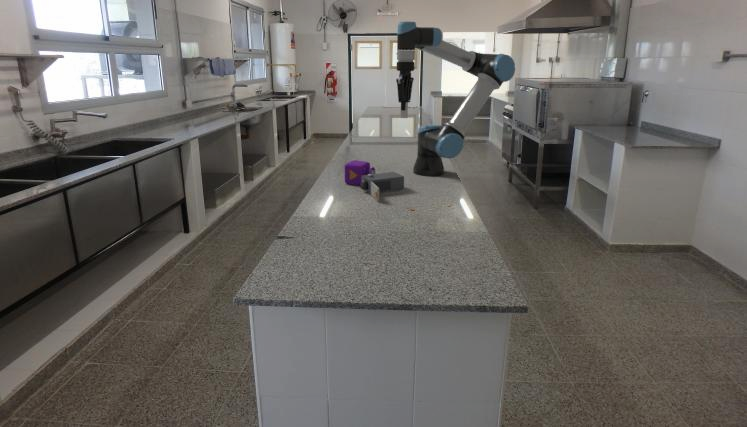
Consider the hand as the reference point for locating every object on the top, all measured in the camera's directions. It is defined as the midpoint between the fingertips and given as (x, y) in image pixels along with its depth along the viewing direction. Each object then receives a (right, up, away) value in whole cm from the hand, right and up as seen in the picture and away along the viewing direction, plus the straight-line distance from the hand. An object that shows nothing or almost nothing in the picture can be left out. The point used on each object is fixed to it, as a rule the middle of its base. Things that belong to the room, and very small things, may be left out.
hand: (404, 117), depth 213 cm
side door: (-13, -35, -13) cm, 40 cm away
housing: (-9, -31, -1) cm, 33 cm away
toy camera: (-19, -28, +9) cm, 35 cm away
